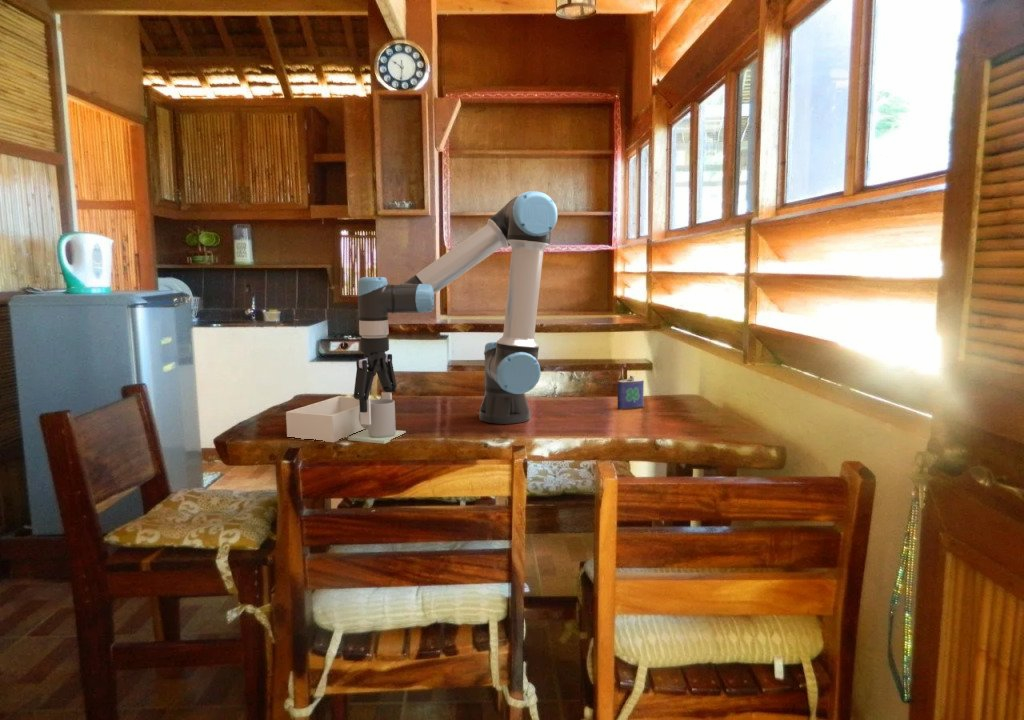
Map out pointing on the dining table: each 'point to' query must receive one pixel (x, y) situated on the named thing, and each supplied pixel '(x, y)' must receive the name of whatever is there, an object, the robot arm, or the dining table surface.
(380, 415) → the cup
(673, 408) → the dining table surface
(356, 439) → the tile
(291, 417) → the crate
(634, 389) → the flask
